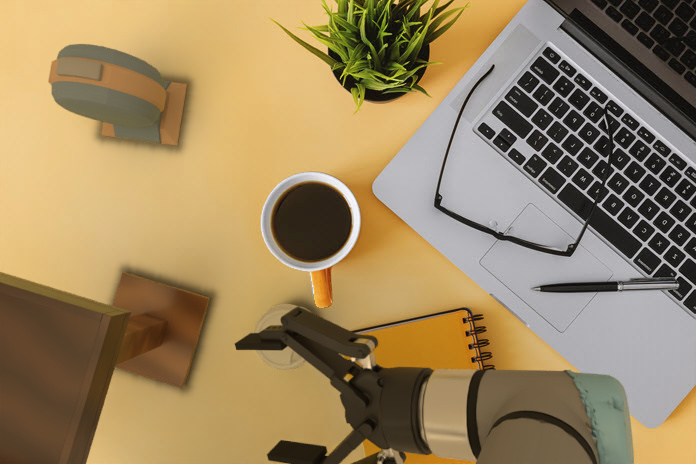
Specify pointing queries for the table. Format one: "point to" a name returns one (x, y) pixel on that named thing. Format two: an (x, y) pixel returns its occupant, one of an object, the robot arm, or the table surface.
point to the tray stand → (159, 328)
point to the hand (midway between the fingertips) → (259, 396)
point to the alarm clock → (118, 93)
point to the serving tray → (53, 370)
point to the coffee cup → (277, 358)
